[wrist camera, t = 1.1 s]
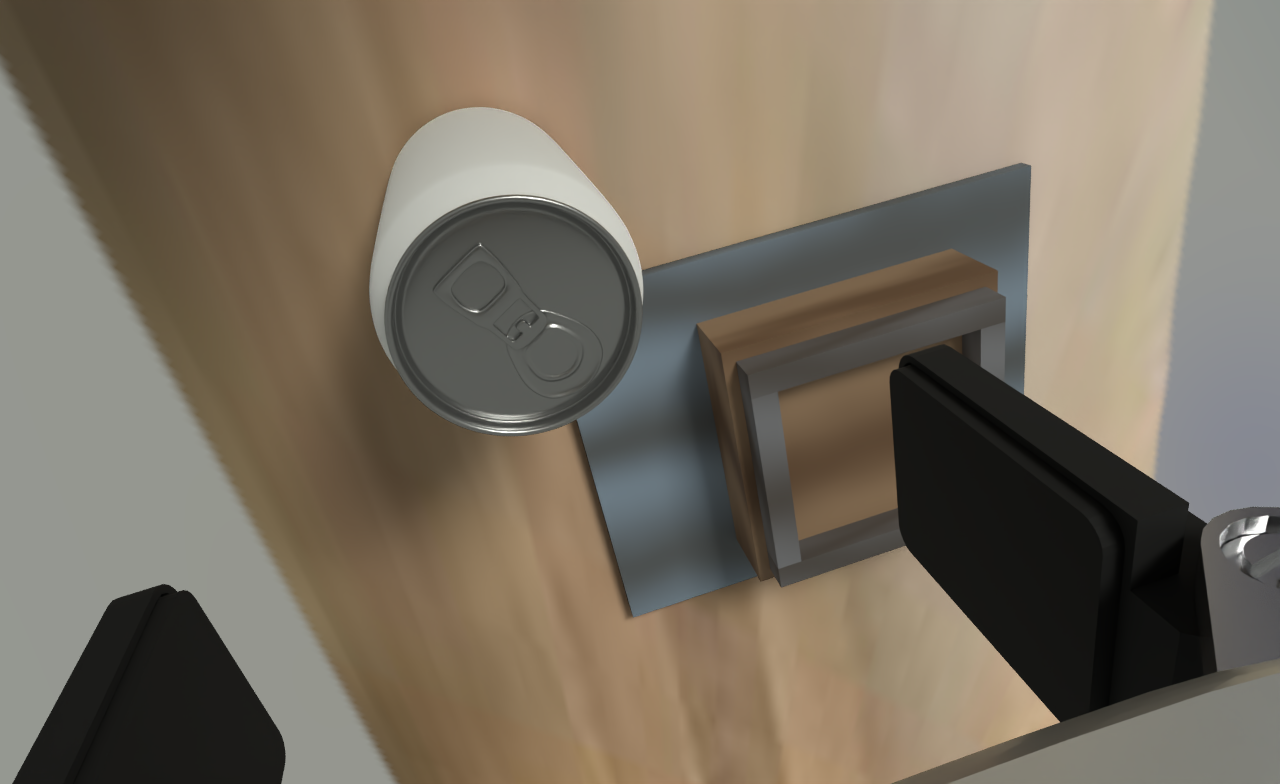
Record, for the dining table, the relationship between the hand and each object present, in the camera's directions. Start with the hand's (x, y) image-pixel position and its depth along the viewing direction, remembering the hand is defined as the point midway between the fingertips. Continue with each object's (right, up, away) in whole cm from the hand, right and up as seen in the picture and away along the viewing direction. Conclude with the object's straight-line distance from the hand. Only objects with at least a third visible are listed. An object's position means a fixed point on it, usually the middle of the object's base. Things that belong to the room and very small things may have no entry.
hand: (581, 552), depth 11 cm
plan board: (+9, +2, +24) cm, 26 cm away
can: (-5, +9, +18) cm, 20 cm away
